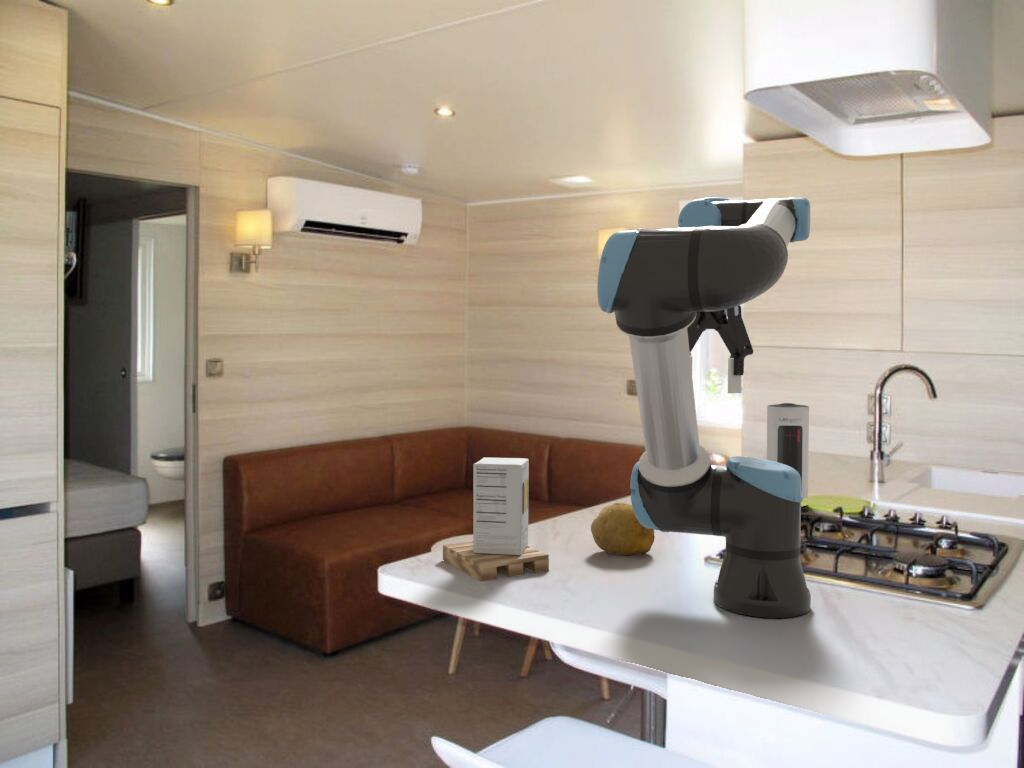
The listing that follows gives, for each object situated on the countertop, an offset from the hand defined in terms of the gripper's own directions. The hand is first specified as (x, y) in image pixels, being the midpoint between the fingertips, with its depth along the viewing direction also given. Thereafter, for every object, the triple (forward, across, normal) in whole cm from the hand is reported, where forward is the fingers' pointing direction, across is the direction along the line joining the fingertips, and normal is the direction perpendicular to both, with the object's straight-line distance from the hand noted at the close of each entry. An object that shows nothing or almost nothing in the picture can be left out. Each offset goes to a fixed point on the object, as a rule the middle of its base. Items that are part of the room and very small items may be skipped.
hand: (709, 391), depth 166 cm
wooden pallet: (+33, +15, +39) cm, 53 cm away
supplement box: (+30, +15, +38) cm, 50 cm away
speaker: (+33, +30, -55) cm, 71 cm away
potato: (+33, +11, +12) cm, 37 cm away
